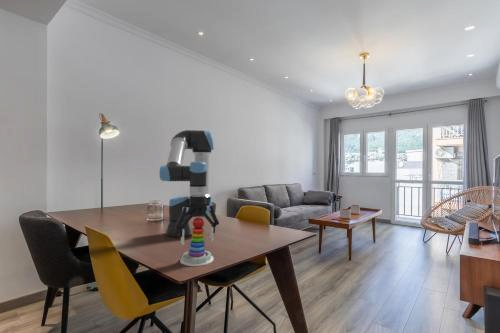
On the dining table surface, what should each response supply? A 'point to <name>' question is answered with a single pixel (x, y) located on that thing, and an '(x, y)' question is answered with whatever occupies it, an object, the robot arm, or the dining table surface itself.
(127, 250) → the dining table surface
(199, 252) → the stacking toy
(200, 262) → the collar base
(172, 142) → the robot arm
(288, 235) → the dining table surface
